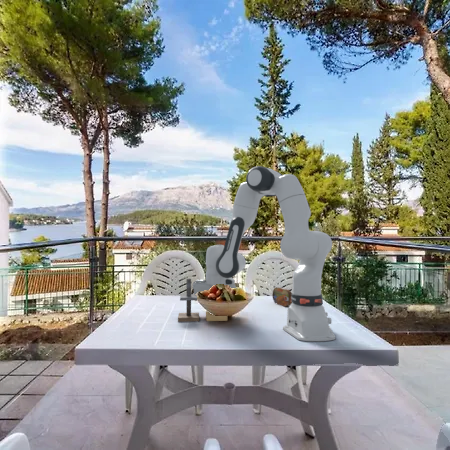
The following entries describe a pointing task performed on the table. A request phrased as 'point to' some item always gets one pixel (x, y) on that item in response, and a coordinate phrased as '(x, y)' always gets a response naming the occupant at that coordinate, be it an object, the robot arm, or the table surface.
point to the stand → (188, 304)
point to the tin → (282, 296)
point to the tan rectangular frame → (215, 317)
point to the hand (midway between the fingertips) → (215, 310)
